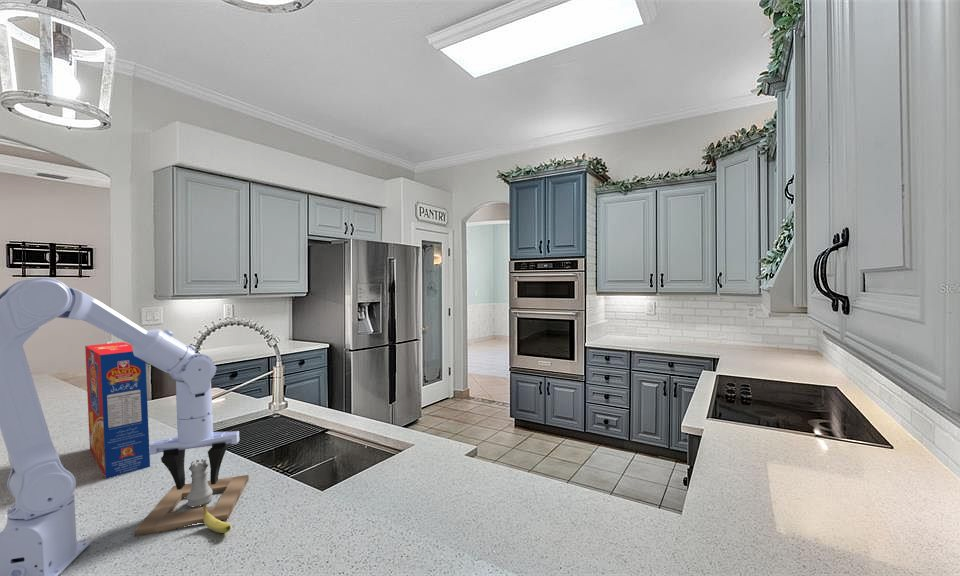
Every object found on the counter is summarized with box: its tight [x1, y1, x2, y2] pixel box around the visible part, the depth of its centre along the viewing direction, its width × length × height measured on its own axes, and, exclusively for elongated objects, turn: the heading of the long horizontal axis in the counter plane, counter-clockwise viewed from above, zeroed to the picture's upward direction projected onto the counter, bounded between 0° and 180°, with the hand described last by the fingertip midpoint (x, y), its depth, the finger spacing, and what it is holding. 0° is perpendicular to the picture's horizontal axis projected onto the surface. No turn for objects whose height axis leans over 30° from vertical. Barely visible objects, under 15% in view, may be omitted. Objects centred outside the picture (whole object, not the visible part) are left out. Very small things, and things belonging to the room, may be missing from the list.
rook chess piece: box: [186, 458, 214, 508], centre depth 83 cm, size 4×4×8 cm
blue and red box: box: [84, 341, 151, 480], centre depth 108 cm, size 28×8×28 cm, turn 48°
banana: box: [199, 503, 232, 534], centre depth 73 cm, size 8×2×4 cm, turn 61°
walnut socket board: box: [134, 474, 250, 537], centre depth 83 cm, size 17×14×1 cm
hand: (197, 484), depth 83 cm, fingers open, 5 cm apart
